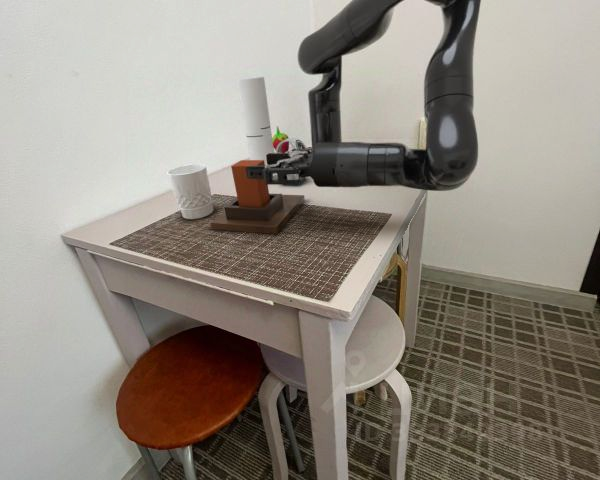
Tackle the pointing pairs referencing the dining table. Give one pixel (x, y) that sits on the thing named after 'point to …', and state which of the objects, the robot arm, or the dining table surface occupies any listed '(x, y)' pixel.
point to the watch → (295, 145)
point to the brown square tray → (259, 215)
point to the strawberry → (278, 139)
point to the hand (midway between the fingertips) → (257, 165)
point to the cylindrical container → (256, 117)
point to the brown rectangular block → (249, 185)
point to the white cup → (191, 190)
